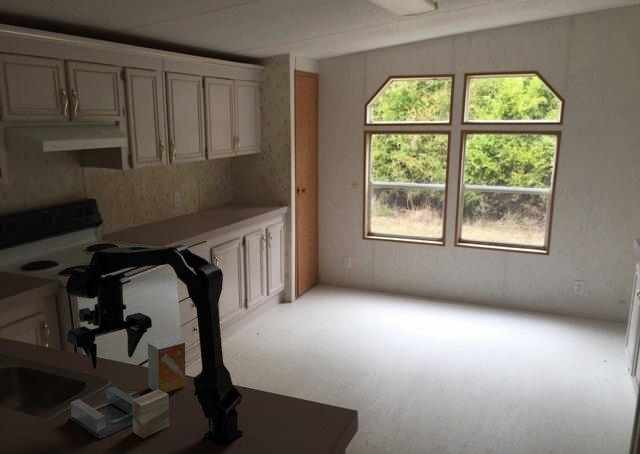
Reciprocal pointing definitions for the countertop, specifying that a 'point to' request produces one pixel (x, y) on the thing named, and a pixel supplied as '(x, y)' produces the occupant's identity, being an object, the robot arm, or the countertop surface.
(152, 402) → the ash block
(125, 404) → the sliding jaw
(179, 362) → the small box
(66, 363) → the countertop surface
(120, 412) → the vise bed
